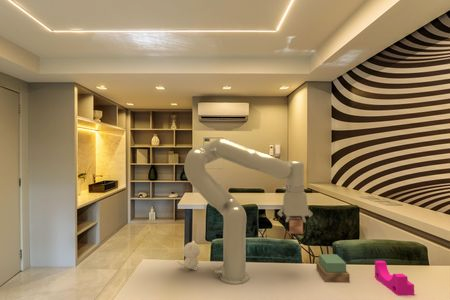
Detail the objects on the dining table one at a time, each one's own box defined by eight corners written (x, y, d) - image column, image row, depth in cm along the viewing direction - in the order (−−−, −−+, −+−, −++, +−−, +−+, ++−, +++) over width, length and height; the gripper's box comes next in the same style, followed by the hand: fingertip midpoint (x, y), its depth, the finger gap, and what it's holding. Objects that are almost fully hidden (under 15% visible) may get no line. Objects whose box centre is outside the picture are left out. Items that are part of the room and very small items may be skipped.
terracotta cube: (289, 233, 118) (289, 220, 118) (287, 229, 124) (287, 217, 124) (302, 233, 118) (302, 220, 118) (300, 230, 123) (300, 217, 123)
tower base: (324, 283, 114) (324, 273, 114) (316, 270, 126) (316, 262, 126) (349, 283, 114) (349, 274, 114) (338, 271, 126) (338, 262, 126)
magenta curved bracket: (414, 296, 103) (414, 276, 103) (397, 297, 103) (397, 276, 103) (389, 278, 118) (389, 260, 118) (374, 278, 118) (374, 260, 118)
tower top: (326, 272, 115) (326, 263, 115) (318, 263, 125) (318, 254, 125) (346, 272, 115) (346, 263, 115) (336, 263, 125) (336, 254, 125)
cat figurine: (197, 273, 123) (197, 246, 123) (174, 271, 124) (174, 245, 124) (202, 265, 131) (202, 240, 131) (180, 264, 133) (180, 238, 133)
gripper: (276, 190, 118) (276, 233, 118) (317, 190, 117) (317, 233, 117) (274, 188, 125) (274, 228, 125) (312, 188, 124) (312, 228, 124)
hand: (295, 230), depth 121 cm, fingers closed on terracotta cube, 5 cm apart
